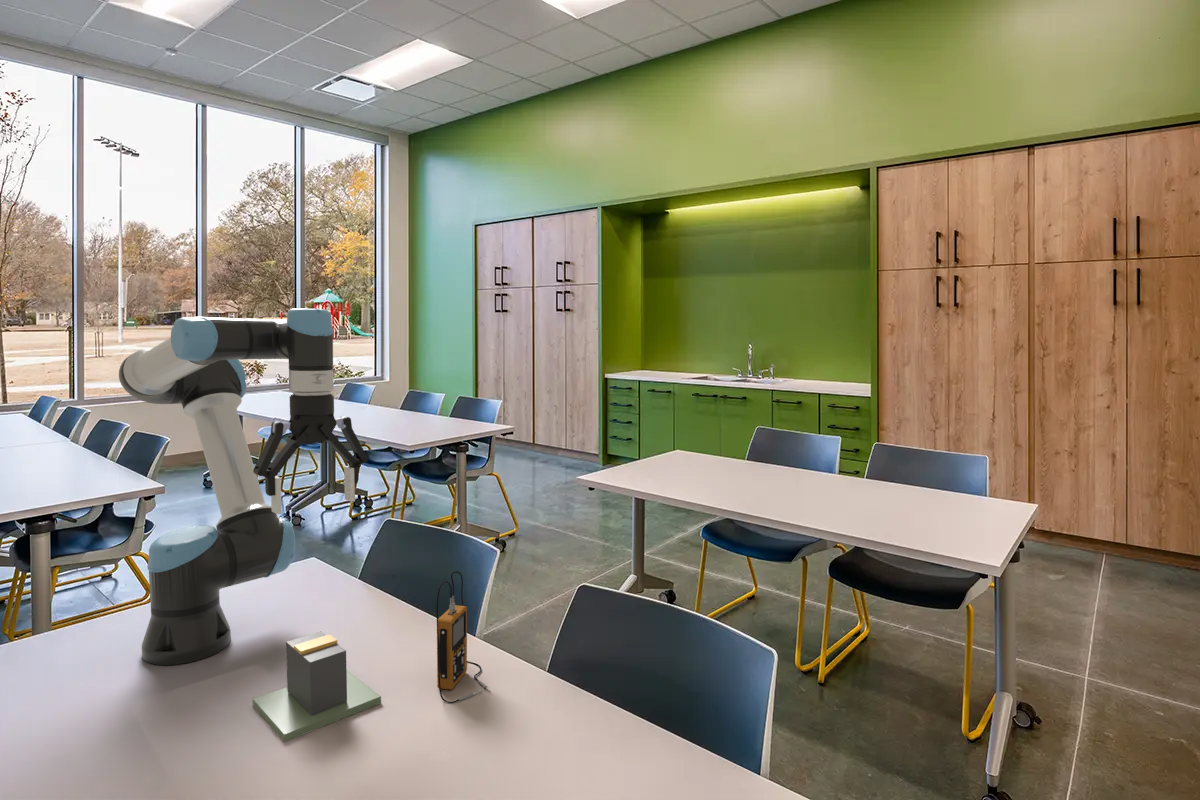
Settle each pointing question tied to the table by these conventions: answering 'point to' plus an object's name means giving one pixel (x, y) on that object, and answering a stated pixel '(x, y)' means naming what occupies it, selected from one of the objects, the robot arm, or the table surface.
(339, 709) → the board
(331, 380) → the robot arm
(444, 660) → the multimeter
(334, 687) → the block
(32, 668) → the table surface
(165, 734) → the table surface
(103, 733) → the table surface
